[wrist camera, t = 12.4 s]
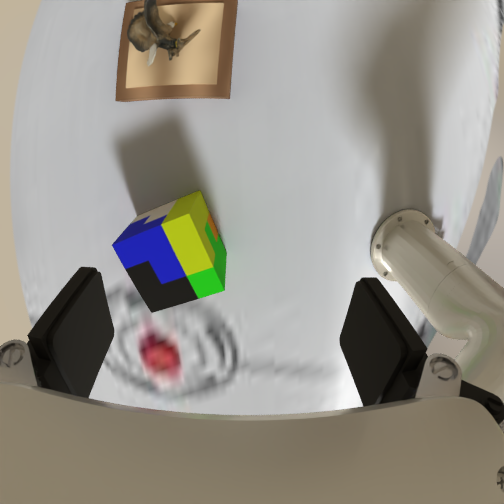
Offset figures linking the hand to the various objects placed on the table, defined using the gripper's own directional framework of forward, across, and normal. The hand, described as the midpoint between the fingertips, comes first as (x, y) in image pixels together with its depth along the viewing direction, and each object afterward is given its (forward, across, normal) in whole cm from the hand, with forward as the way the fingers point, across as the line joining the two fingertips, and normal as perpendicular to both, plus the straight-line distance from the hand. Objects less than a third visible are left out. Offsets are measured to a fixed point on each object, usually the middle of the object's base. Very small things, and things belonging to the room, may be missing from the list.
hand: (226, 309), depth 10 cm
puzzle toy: (+31, +7, +10) cm, 33 cm away
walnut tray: (+30, +8, -16) cm, 35 cm away
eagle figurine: (+26, +10, -17) cm, 33 cm away
